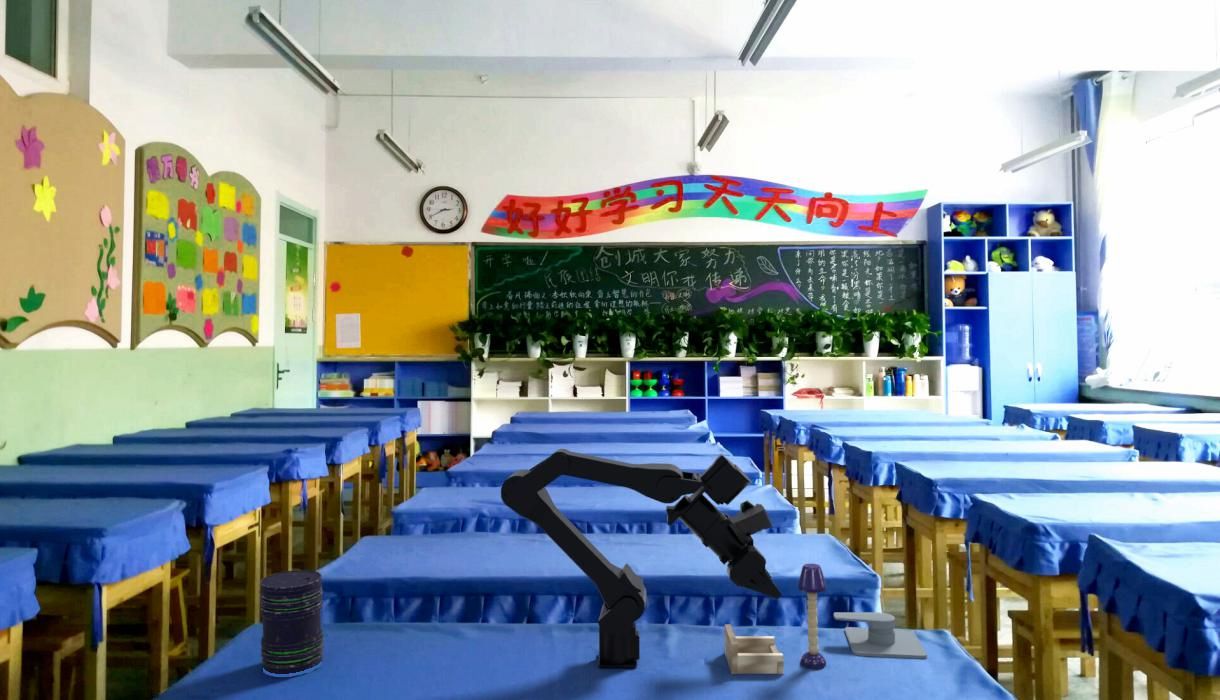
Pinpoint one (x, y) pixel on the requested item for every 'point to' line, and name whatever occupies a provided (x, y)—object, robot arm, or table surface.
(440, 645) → the table surface
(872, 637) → the shower valve
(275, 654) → the storage jar
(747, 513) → the robot arm
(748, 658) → the birch bracket
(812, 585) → the toy lamp
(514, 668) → the table surface
